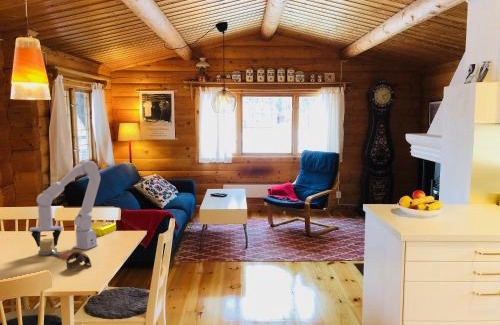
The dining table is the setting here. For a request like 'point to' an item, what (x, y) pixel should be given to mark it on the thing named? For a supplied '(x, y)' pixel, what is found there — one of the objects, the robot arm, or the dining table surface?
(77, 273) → the dining table surface
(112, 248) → the dining table surface
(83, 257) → the brown arched piece
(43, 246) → the wooden cube
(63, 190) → the robot arm
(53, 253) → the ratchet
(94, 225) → the element tile
